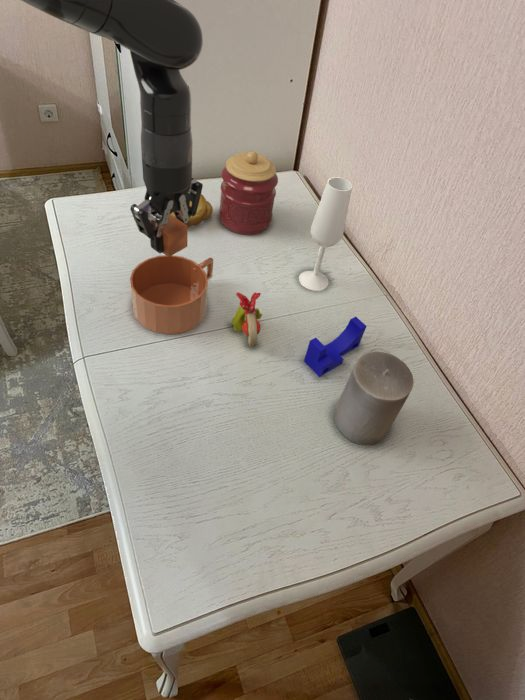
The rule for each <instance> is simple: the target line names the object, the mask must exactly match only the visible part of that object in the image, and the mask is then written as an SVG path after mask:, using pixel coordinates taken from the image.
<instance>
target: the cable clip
mask: <svg viewBox="0 0 525 700" xmlns="http://www.w3.org/2000/svg"><path fill="white" fill-rule="evenodd" d="M367 327H368V326H367V325H366V324H365V323H364V322H363V321H362V320H360V319H359V318H358V317H357V316H353V317H352V318H350V319H349V321H348V324H347V325H346V327H345V328H344V329H343V331H342V332H341V333H340V334H339V335H338V336H337V337H335V339H333V340H332V341H331V342H329V343H327V344H325V345H324V344H323V342H321V340H319V339H318V338H317V337H314V338H312V339H310V340H309V342H308V345H307V349H306V351H305V352H306V353H305V356H304V359H303V362H304V364H306V366H308V368H310V369H311V371H313V372H314V374H316V375H317V377H319V378H321V377H323V376H324V375H325V374H327V373H329V372H331V371H332V370H334V369H336V368H338V367H339V366H341V365H342V364H343V363H344V360H345V358H344V357H343V356H345V355H346V354H348V353H350V352H351V351H354V350H355V349H356V348H358V347H359V346H360V343H361V341H362V338H363V336H364V334H365V332H366V330H367Z"/></svg>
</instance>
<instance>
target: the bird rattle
mask: <svg viewBox="0 0 525 700" xmlns="http://www.w3.org/2000/svg"><path fill="white" fill-rule="evenodd" d="M261 295H262V294H261V292H254V293H252V295H251V297H250V300H249V298H248V297H247V296H246V295H245V294H242V293H241V292H236V296H237V298H238V299H239V306H238V308H237V310H236V312H235V314H234V316H233V317H232V318H231V321H230V323H231V324H232V325H233V330H234V331H235V332H239V333H240V332H241V331H242V333H243V334H244V335H245V336H246V337H247V340H248V345H249V346H251V347H253V346H254V347H255V346H257V343H258V335H259V334H260V332H261V323H260V322H259V321H258V320H261V318H262V316H263V313H261V312H260V309H259V308H255V307H256V305H257V300H258V299H259V298H260V296H261Z"/></svg>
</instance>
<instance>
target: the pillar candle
mask: <svg viewBox="0 0 525 700" xmlns="http://www.w3.org/2000/svg"><path fill="white" fill-rule="evenodd" d="M412 373H413V372H412V371H411V369H410V368H409V366H408V365H407V364H406V362H404V361H403V360H402V359H400V358H399V357H397V356H395V355H394V354H392V353H389V352H385V351H377V350H376V351H370V352H366V353H364V354H362V355H360V356H359V357H358V358H356V359H355V360H354V363H353V365H352V369H351V372H350V374H349V376H348V379H347V381H346V383H345V386H344V388H343V391H342V393H341V395H340V398H339V400H338V403H337V405H336V408H335V410H334V414H333V418H334V419H333V421H334V424H335V426H336V427H337V429H338V431H339V432H340V433H341V434H342V436H343V437H344V438H346V439H347V440H348V441H350V442H352V443H355V444H357V445H362V446H368V445H375V444H377V443H379V442H381V441H383V439H384V438H385V437H386V435H387V433H388V432H389V430H390V429H391V427H392V425H393V423H394V422H395V420H396V418H397V417H398V415H399V414H400V411H401V410H402V408H403V406H404V404H405V403H406V402H407V399H408V398H409V395H410V394H411V393H412V390H413V387H414V384H415V381H414V376H413V374H412Z"/></svg>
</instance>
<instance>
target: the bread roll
mask: <svg viewBox="0 0 525 700" xmlns="http://www.w3.org/2000/svg"><path fill="white" fill-rule="evenodd" d="M191 205H192V202H191V201H190V203H189V206H190V207H191ZM213 210H214V208H213V205H212V204H211V203H210V202H209V201H208V200H207V199H206V198H205V196H204V195H203V194H202V193H201V196H200V200H199V204H198V208H197V212H196V215H195V216H190V217H189V221H188V222H187V226H188V228H192V227H197V226H199V225H200V224H201V223H202V222H204V221H206V220H208V218H210V217H211V215H212V214H213V212H214V211H213ZM171 215H172V216H174V213H173V212H172V213H171ZM174 217H175V216H174ZM175 218H176V217H175Z"/></svg>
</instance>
